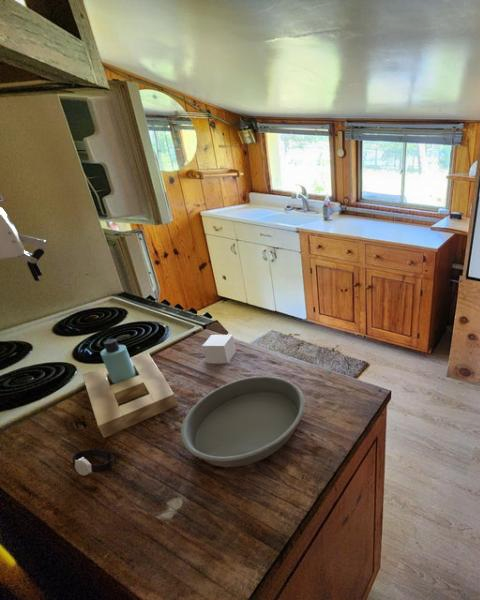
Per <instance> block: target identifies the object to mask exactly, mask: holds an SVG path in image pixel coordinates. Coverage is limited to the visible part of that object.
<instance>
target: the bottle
mask: <svg viewBox="0 0 480 600" xmlns="http://www.w3.org/2000/svg"><path fill="white" fill-rule="evenodd" d="M102 343H103V346H104V349H102V350H101V351H100V352H99V353H100V356H101V359H102V361H103V364H104V367H106V369H107V371H108V373H109V376H110V378H111V380H112V383H113V384H116V383H119V382H122V381H124V380H127V379H130V378H133V377H135V376H137V375H136V373H135V370H134V367H133V365H132V362H131V356H130V354H129V351H128V349H127V346H126V345H124V344H119V343H118V341H117V339H116V338H110V339H106V340H104V341H103V342H102Z"/></svg>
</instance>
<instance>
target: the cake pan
mask: <svg viewBox="0 0 480 600" xmlns="http://www.w3.org/2000/svg"><path fill="white" fill-rule="evenodd" d="M305 405H306V403H305V397H304V394H303V392H302V391H301V389H300V388H299V387H298V386H297V384H295V383H293V382H291V381H289V380H287V379H285V378H281V377H278V376H270V375H269V376H268V375H262V376H261V375H260V376H251V377H244V378H240V379H237V380H235V381H230V382H228V383H225V384H223V385H222V386H219V387H217V388H215V389H214V390H212V391H211V392H209V393H207V394H206V395H205V396H203V397H201V399H199V400H198V401H197V402H196V403H195V404H194V405H193V406H192V407H191V408H190V409H189V411H188V412H187V414H186V415H185V417H184V419H183V421H182V424H181V428H180V440H181V443H182V445H183V447H184V448H185V449H186V450H187V451H188V453H190V454H191V455H193V456H195V457H197V458H199V459H202V460H203V461H204V462H206V463H207V464H210V465H212V466H215V467H221V468H238V467H242V466H243V467H244V466H247V465H251V464H253V463H256V462H257V463H258V462H259V461H261V460H263V459H266V458H268V457H269V456H271V455H273V454H274V453H276V452H277V451H278V450H280V449H281V448H283V446H284V445H285V444H286V443H287V442H288V441H289V440H290V439H291V437H293V434H294V432H295V430H296V429H297V427H298V424H299V423H300V420H301V419H302V417H303V415H304V411H305Z"/></svg>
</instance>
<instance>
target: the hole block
mask: <svg viewBox="0 0 480 600" xmlns="http://www.w3.org/2000/svg"><path fill="white" fill-rule="evenodd" d="M130 359H131V362H132V365H133V367H134V370H135V373H136V375H137V376H135V377H133V378H130V379H127V380H124V381H122V382H119V383H116V384H113V383H112V380H111V378H110V376H109V373H108V371H107V369H106V366H104V367H101V368H98V369H96V370H92V371H88V372H86V373H83V374H82V379H83V381H84V385H85V388H86V391H87V395H88V398H89V401H90V404H91V408H92V412H93V415H94V418H95V422H96V425H97V428H98V430H99V431H100V434H101V436H102V438H103V439H105V438H107V437H109V436H111V435H114V434H116V433H118V432H120V431H123V430H125V429H127V428H130V427H132V426H134V425H137V424H139V423H141V422H144V421H146V420H148V419H150V418H152V417H155V416H157V415H159V414H161V413H164V412H166V411H168V410H172V409H173V408H175V407H178V406H179V404H178V402H177V401H178V400H177V398H176V395H175V393H174V391H173V390H172V388H171V386H170V385H169V383H168V382H167V380H166V378H165V377H164V375H163V374H162V372H161V371H160V369H159V367H158V366H157V364H156V363H155V361H154V360H153V358H152V356H151V355H150V353H149V352H147V353H144V354H141V355H137V356H135V357H132V358H131V357H130Z"/></svg>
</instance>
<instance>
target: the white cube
mask: <svg viewBox="0 0 480 600" xmlns="http://www.w3.org/2000/svg"><path fill="white" fill-rule="evenodd" d="M201 348H202V352H203V354H204V360H205V363H206V364H229V363H230V361H231V360H232V359H233V357H234V355H235V354H236V352H237V350H236V345H235V340H234V335H233V334H211V335H210V336H209V337H208V338H207V339H206V341H205V342H204V343H203V344H202V345H201Z"/></svg>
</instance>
